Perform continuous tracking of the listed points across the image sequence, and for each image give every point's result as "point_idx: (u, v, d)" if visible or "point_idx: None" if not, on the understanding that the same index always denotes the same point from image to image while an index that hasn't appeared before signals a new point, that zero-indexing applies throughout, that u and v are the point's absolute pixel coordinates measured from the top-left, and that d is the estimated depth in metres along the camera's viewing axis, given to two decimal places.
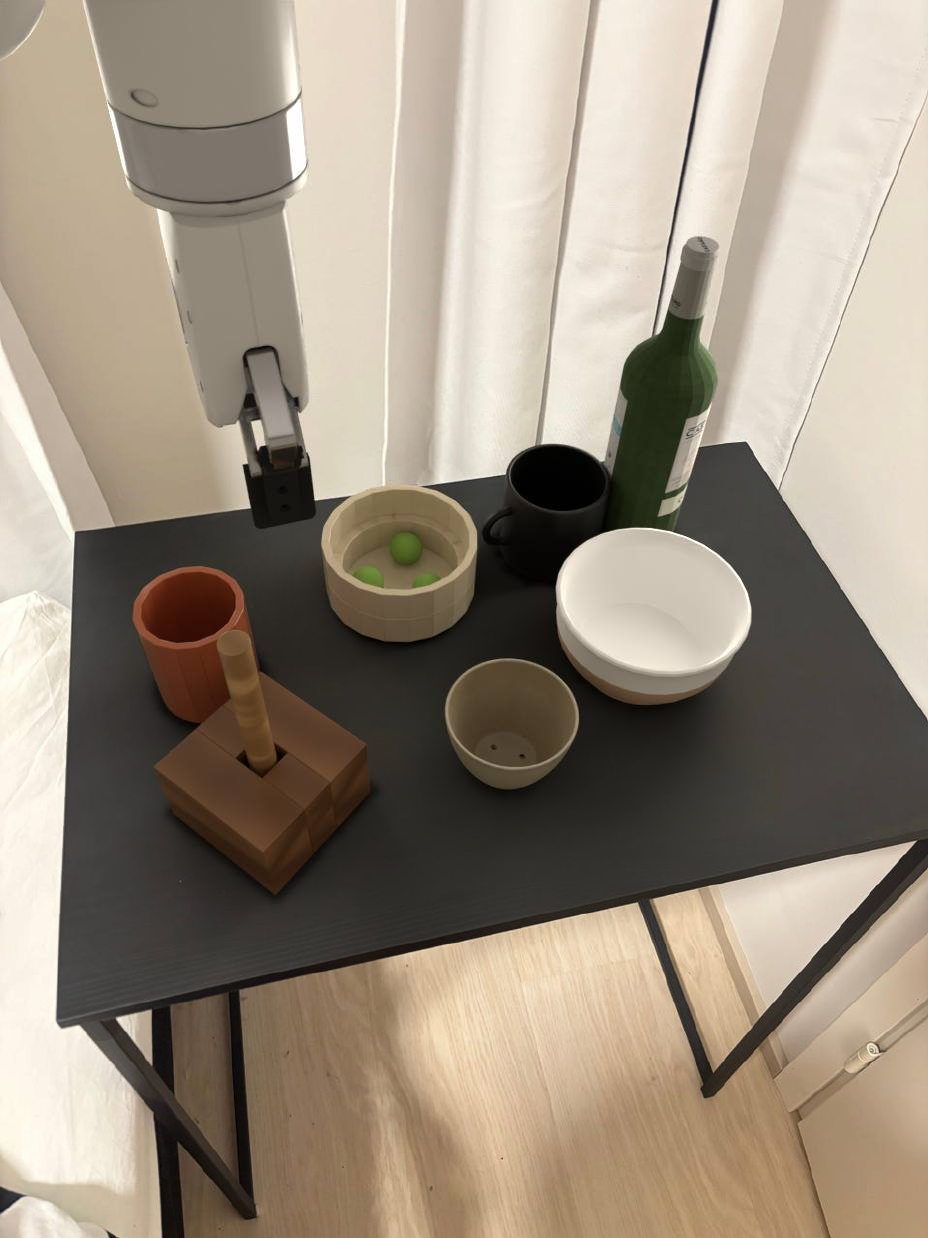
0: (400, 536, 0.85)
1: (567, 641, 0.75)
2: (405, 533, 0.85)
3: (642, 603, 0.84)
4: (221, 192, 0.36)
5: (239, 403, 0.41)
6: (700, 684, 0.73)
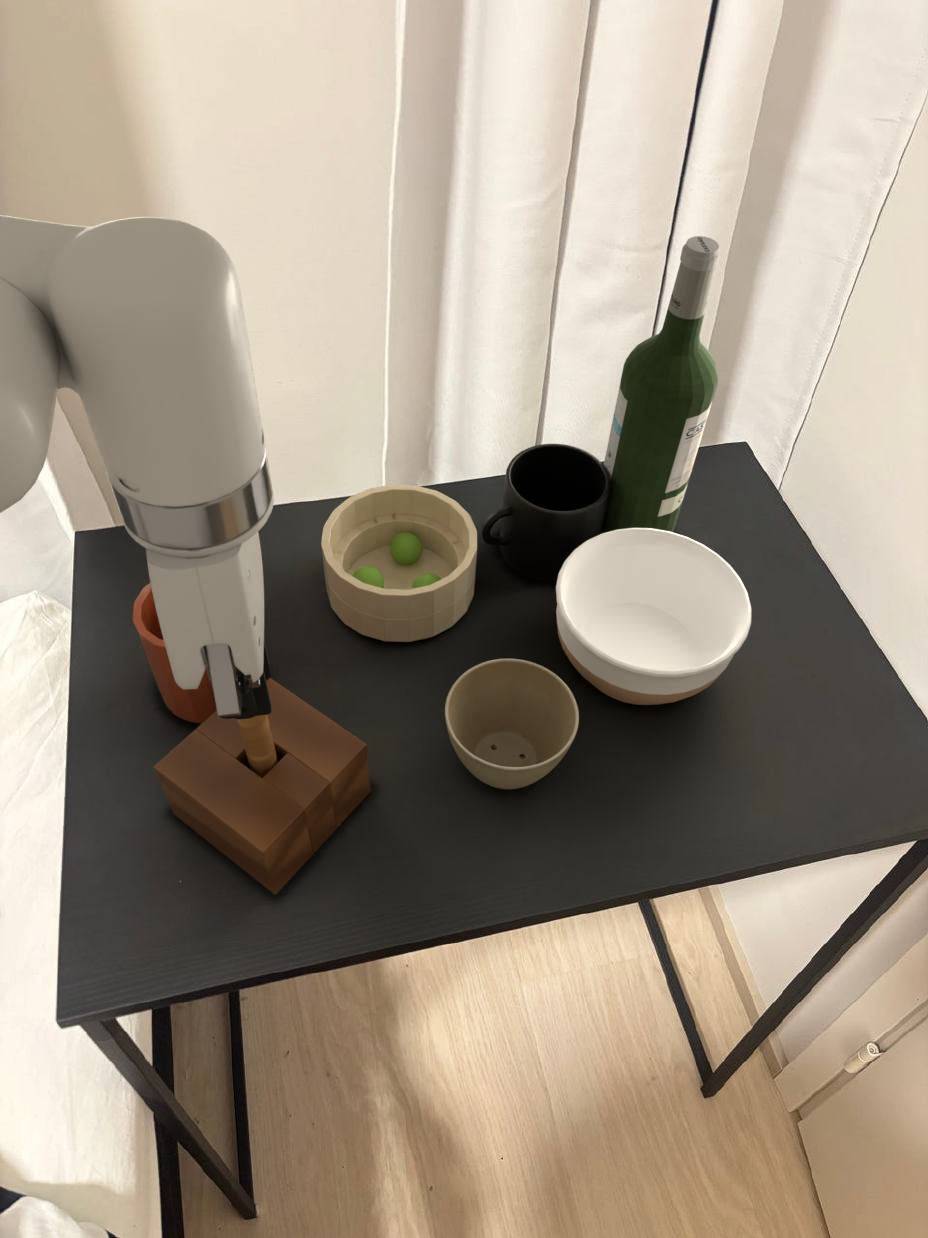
0: (400, 536, 0.85)
1: (567, 641, 0.75)
2: (405, 533, 0.85)
3: (642, 603, 0.84)
4: (184, 544, 0.44)
5: (199, 678, 0.50)
6: (700, 684, 0.73)
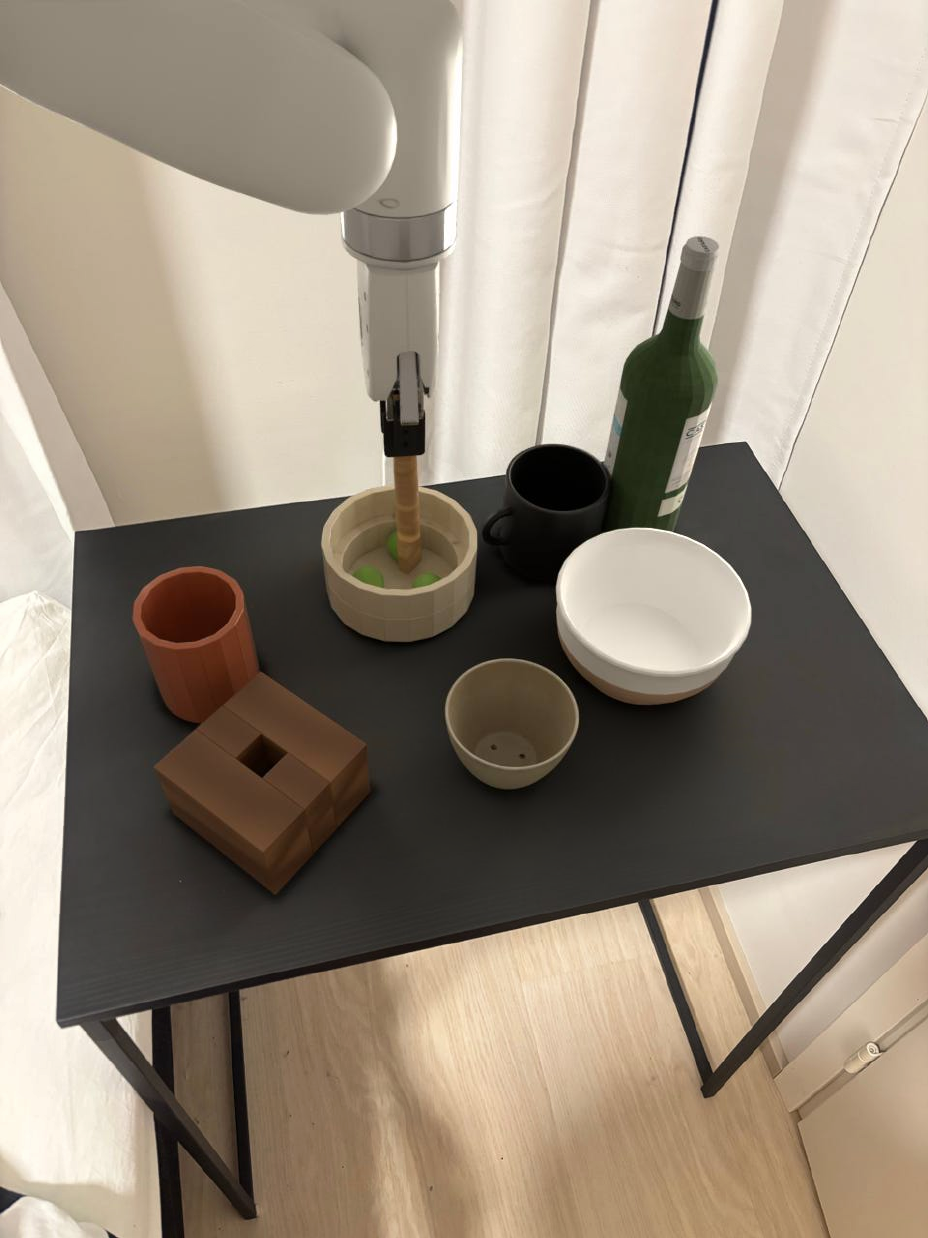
0: None
1: (567, 641, 0.75)
2: None
3: (642, 603, 0.84)
4: (399, 255, 0.57)
5: (390, 387, 0.63)
6: (700, 684, 0.73)
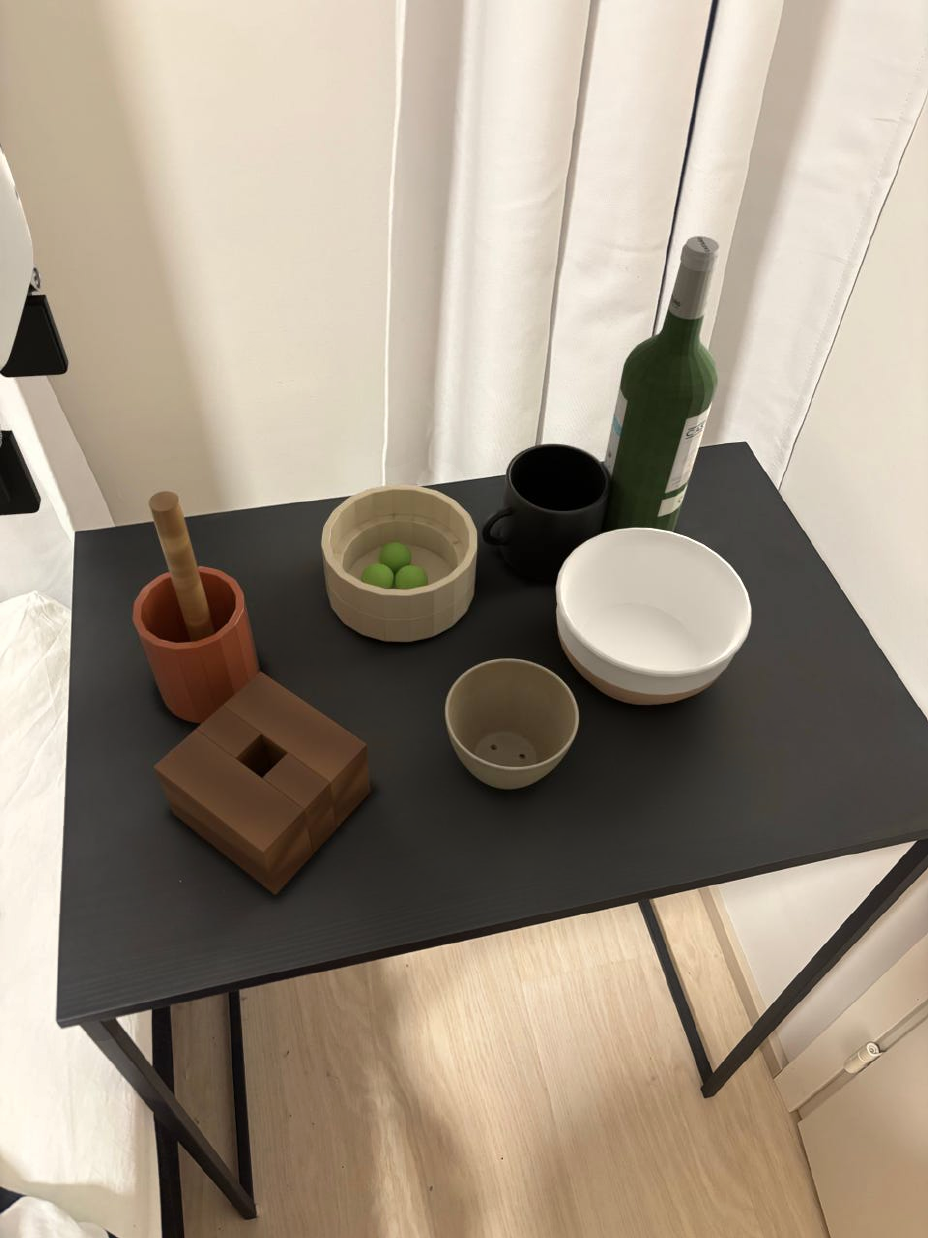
0: (388, 557, 0.83)
1: (567, 641, 0.75)
2: (395, 554, 0.83)
3: (642, 603, 0.84)
4: None
5: None
6: (700, 684, 0.73)
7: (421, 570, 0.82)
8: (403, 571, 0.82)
